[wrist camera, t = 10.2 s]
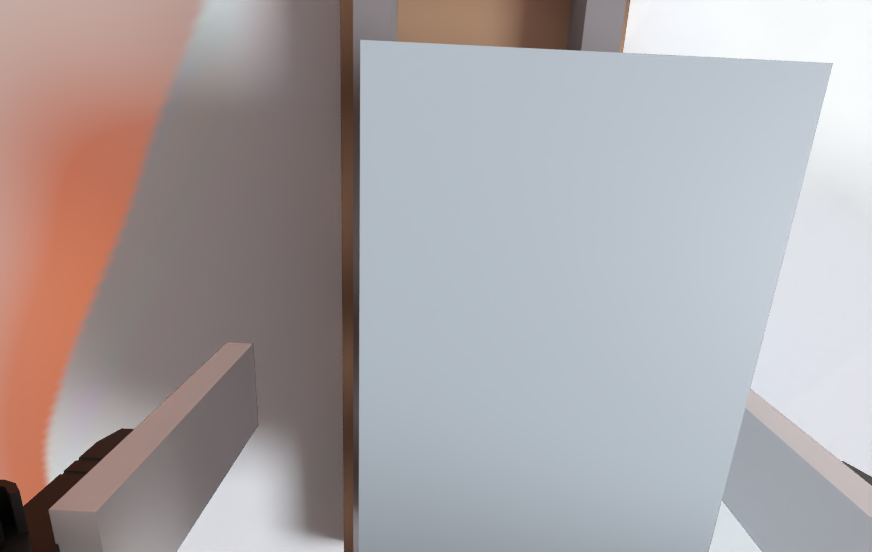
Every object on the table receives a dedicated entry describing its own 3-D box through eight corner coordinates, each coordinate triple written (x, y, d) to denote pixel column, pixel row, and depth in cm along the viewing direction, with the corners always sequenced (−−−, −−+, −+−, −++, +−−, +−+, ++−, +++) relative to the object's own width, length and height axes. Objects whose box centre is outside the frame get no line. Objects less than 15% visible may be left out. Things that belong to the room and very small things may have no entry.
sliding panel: (495, 487, 22) (583, 1045, 8) (408, 483, 22) (357, 1035, 8) (530, 123, 17) (833, 63, 4) (422, 118, 17) (360, 40, 4)
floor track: (542, 551, 25) (558, 616, 21) (350, 542, 25) (335, 605, 21) (618, -13, 18) (659, -49, 14) (348, -26, 18) (326, -66, 14)
